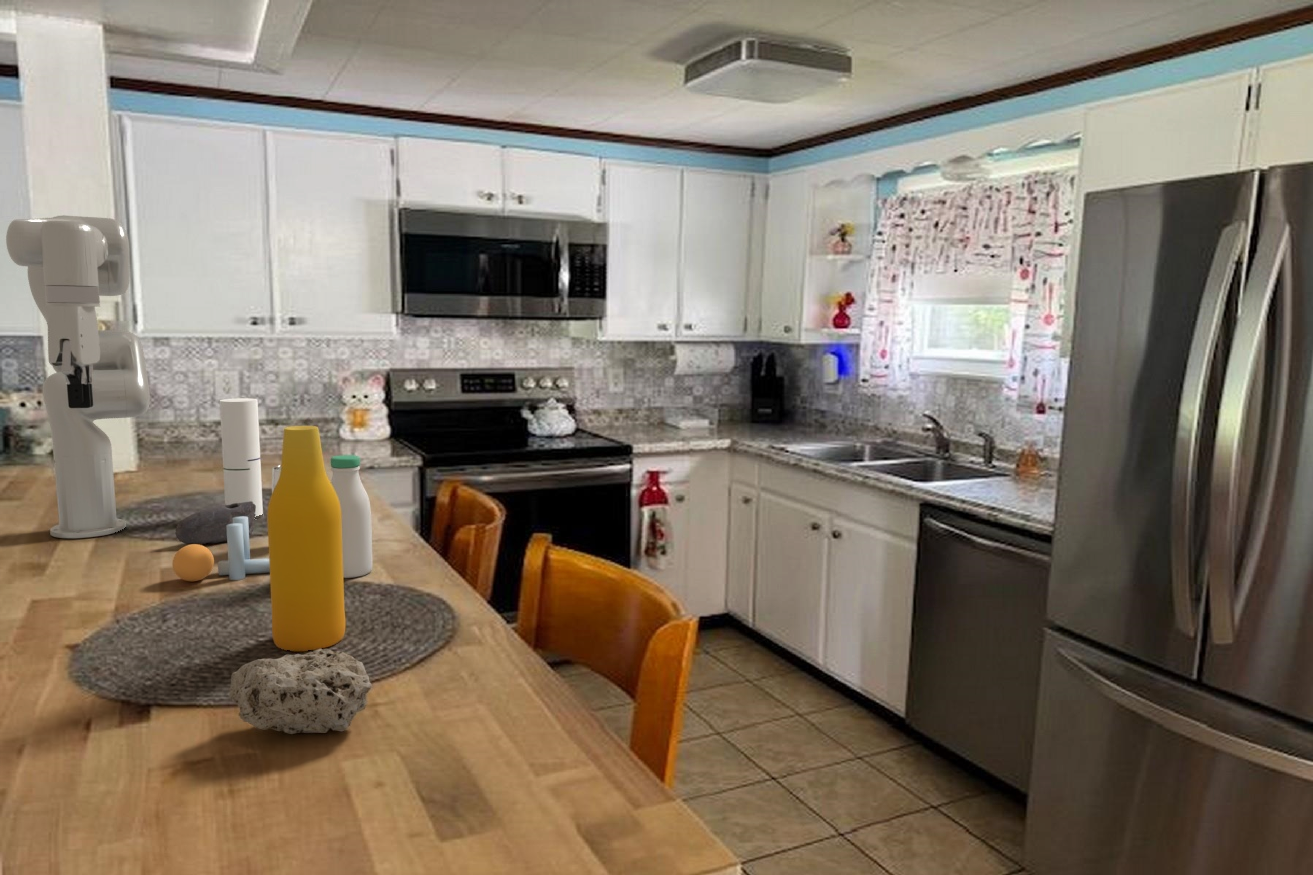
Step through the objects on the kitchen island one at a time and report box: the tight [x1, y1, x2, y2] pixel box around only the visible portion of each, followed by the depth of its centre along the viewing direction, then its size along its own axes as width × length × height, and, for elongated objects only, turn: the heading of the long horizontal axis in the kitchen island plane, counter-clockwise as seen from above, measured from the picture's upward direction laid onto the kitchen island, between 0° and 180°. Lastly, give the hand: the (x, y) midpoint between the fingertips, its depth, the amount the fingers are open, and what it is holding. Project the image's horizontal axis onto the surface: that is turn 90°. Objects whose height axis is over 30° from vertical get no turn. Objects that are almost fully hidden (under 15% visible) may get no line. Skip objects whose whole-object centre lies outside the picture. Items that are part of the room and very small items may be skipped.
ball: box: [172, 544, 215, 582], centre depth 144 cm, size 6×6×6 cm
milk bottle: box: [330, 454, 374, 579], centre depth 149 cm, size 8×8×20 cm
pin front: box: [217, 557, 270, 576], centre depth 149 cm, size 2×2×9 cm
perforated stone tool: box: [175, 501, 256, 545], centre depth 168 cm, size 15×5×7 cm, turn 134°
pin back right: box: [232, 516, 251, 560], centre depth 150 cm, size 2×2×9 cm
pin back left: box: [226, 523, 246, 581], centre depth 145 cm, size 2×2×9 cm
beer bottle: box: [266, 425, 347, 652], centre depth 118 cm, size 9×9×29 cm
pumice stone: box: [228, 648, 373, 735], centre depth 95 cm, size 14×12×8 cm
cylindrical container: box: [219, 397, 264, 517], centre depth 186 cm, size 7×7×25 cm
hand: (81, 407), depth 149 cm, fingers closed
